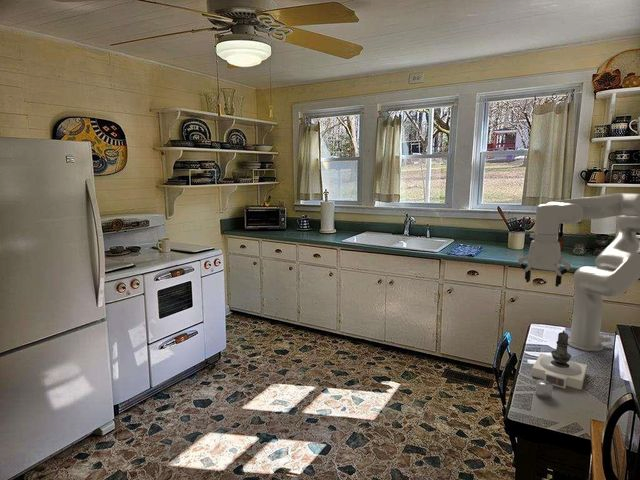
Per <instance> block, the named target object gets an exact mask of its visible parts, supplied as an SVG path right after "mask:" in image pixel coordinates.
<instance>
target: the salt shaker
mask: <svg viewBox="0 0 640 480" xmlns="http://www.w3.org/2000/svg"><path fill="white" fill-rule="evenodd" d="M568 337H569V334H568V333H566V331H565V329H563V330H562V332H559V333H558V335H557V341H556V348H555V350H552V351H551V352H550V353H551V356H552V357H553V359H554V360H553V361H551V364H553V365H554V366H557V367H560V368H568V367H569V364H567V362H568V361H569V360H570V361H571V358H572V355H571V353H569V352H568V347H569V346H570V345H569V344H568Z"/></svg>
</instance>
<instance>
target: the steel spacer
mask: <svg viewBox="0 0 640 480" xmlns="http://www.w3.org/2000/svg"><path fill="white" fill-rule="evenodd" d="M535 382H536V383H535V392H534V395H535V396H536V397H538V398H539V399H542V400H546V401H547V400H551V399H552V398H553V390H554V389H553V388H554V385H553V384H552V383H551V382H549V381H546V380H544V379H538V380H536V381H535Z"/></svg>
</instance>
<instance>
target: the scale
mask: <svg viewBox="0 0 640 480" xmlns="http://www.w3.org/2000/svg"><path fill="white" fill-rule="evenodd" d="M553 360H554V359H553V357H552V355H548V354H545V353H544V354H543V353H539V356H538V357H537V359H536V361H535V362H534V364H533V366H532V367H531V368H532V369H531V377H534V378H537V379H540V380H546V381H549V382H551V383H552V384H553V387H554V386H555V387H556V388H557V387H558V388H561V389H565V390H566V388H567V387H570V388H574V389H577V390H582V389H583V385H584V382H585V379H586V375H587V369H588V364H585V363H580V362H577V361H572V360H571V359H570V360H569V361H568V362H567V364H569V367H568V368H560V367H557V366H554V365H553V364H551V361H553Z"/></svg>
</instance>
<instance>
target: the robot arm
mask: <svg viewBox="0 0 640 480" xmlns="http://www.w3.org/2000/svg"><path fill="white" fill-rule="evenodd" d="M610 217H616V220H615V222H616V223H615V224H616V227H615V228H616V229H615V230H616V231H615V238H614V239H613V240H612V241H611V242H610V244H609V245H607V247H605V248H604V249H603V250H602V251H600V253H599V254H598V255H597V256H596V258H595V261H594V263H595V264H594V265H595V266H596V267H595V266H591V265H585V266H584V265H583V266H580V267H579V268H577V269H576V270H575V272H574V273H573V285H574V286H573V287H574V288H573V289H574V297H573V298H574V300H573V310H572V318H571V325H570V336H568V344H569V345H568V346H570V347H572V348H575V349H578V350H582V351H586V352H600V351H602V350H603V349H604V345H603V344H602V343H604V342H605V343H611V342H612V337H611V336H603V335H602V334H601V327H602V318H603V311H604V300H603V297H608V298H611V299H612V298H613V299H615V298H620V297H621V296H623V295H624V294H625V293H626V292H627V291H628V290H629V289H630V288H631V287H632V286H633V285H634V284H635V283H637V281H638V280H639V279H640V253H637V252H638V250H639V248H640V242H639V240H638V237H637V233H639V234H640V193H635V192H634V193H631V192H615V193H611V194H603V195H597V196H596V195H595V196H588V197H587V196H586V197H579V198H578V197H577V198H568V199H567V198H565V199H559V200H553V201H549V202H547V203H541V204H538V205H537V206H536V209H535V221H534V223H535V224H534V233H530V234H529V238H532V239H533V240H531V241H530V246H529V250H528V254H527V255H526V256H523V257H520V258H518V259H517V260H518V263H519V265H520V267H521V269H523V271H524V272H525V273H524V279H525V282H526V283H529V282H530V281H531V274H532V273H531V272H532V271H531V269H535V270H543V271H553V272H555V273H556V276H555V283H554V286H555V288H557V287H559V286H560V285H561V284H562V280H563V279H562V276H563V275H565V274H566V273H567V272H568V271H569V270H571V268H572V266H573V265H572V264H571V263H570V262H568V261H566V260H565V259H562V258H561V257H562V256H561V243H560V242H559V241H558V240H559V227H560V224H565V225H574V224H577V223H579V222H581V221H582V220H601V219H606V218H610ZM525 261H527V264H525ZM561 264H562V265H563V266H565V267H564V268H563V269H561V268H560V267H561Z"/></svg>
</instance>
